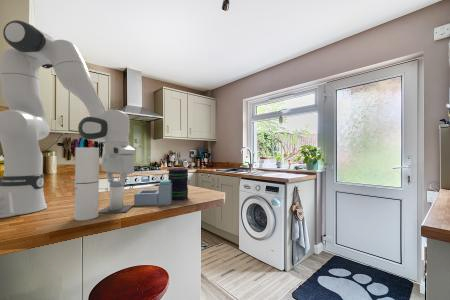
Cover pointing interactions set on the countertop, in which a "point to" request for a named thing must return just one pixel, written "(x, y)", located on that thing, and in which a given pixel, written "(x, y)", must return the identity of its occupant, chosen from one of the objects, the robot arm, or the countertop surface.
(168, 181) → the plunger
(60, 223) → the countertop surface
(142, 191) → the filter housing
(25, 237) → the countertop surface
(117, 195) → the filter cartridge
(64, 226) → the countertop surface
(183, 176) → the storage jar
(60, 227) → the countertop surface
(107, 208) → the rubber mat
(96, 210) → the cylindrical container
